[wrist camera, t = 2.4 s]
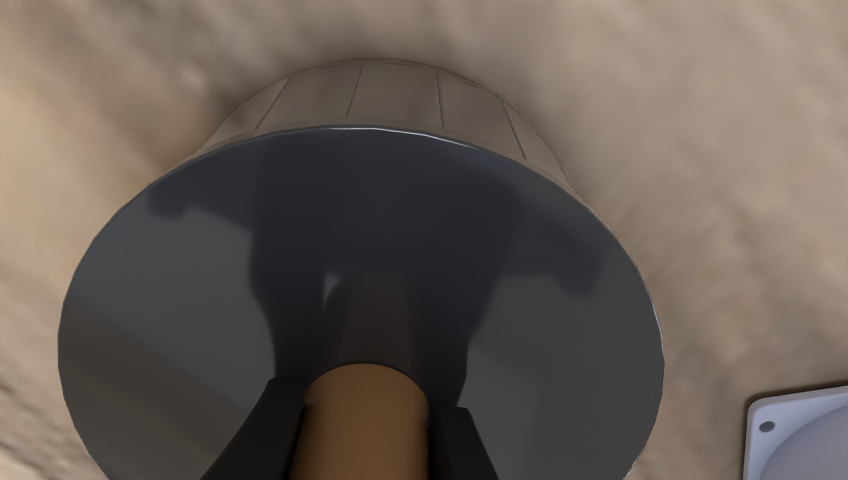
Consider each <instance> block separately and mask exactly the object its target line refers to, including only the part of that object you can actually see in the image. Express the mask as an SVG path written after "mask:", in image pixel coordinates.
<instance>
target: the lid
mask: <svg viewBox="0 0 848 480" xmlns="http://www.w3.org/2000/svg"><path fill="white" fill-rule="evenodd" d="M664 364H665V361H664V350H663V340H662V331H661V327H660V323H659V320H658V316H657V313H656V309H655V306H654V302H653V299H652V297H651V295H650V292H649V290H648V288H647V286H646V284H645V282H644V280H643V278H642V276H641V274H640V271H639V269H638V267H637V266H636V264H635V262H634V261H633V259H632V257H631V256H630V254H629V253H628V252H627V250H626V249H625V247H624V246H623V244H622V243H621V242H620V240H619V239H618V237H617V236H616V234H615V233H614V232H613V230H612V229H611V227H610V226H609V225H608V224H607V223H606V222H605V221H604V220H603V219H602V218H601V217H600V216H599V215H598V214H597V213H596V212H595V211H594V210H593V209H592V207H591V206H590V205H589V204H588V203H587V202H586V201H585V200H584V199H583V198H581V197H580V196H579V195H577V194H576V193H575V192H574V191H572V190H571V189H570V188H568V187H567V186H566V185H565V184H563V183H562V182H561V181H559V180H558V179H557V178H555V177H554V176H553V175H552V174H550V173H548V172H547V171H545V170H543V169H541V168H540V167H538V166H536V165H534V164H533V163H531V162H529V161H527V160H525V159H524V158H522V157H520V156H518V155H517V154H515V153H513V152H511V151H508V150H506V149H503V148H501V147H499V146H496V145H494V144H491V143H489V142H486V141H484V140H481V139H479V138H476V137H474V136H471V135H468V134H464V133H460V132H456V131H452V130H449V129H445V128H441V127H437V126H433V125H429V124H425V123H419V122H411V121H403V120H395V119H387V118H379V117H325V118H317V119H310V120H302V121H294V122H286V123H280V124H276V125H272V126H268V127H265V128H261V129H257V130H253V131H250V132H246V133H242V134H238V135H235V136H232V137H230V138H228V139H225V140H223V141H221V142H218V143H216V144H213V145H211V146H209V147H206V148H204V149H202V150H199V151H197V152H194V153H193V154H191V155H189V156H188V157H186V158H184V159H183V160H181V161H179V162H178V163H176V164H175V165H173V166H171V167H170V168H168V169H166V170H165V171H163V172H161V173H160V174H158V175H157V176H156V177H154V178H153V179H152V180H151V181H150V182H148V183H147V184H146V185H145V186H144V187H142V188H141V189H140V190H139V191H138V192H136V193H135V194H134V195H133V196H132V197H131V198H129V199H128V200H127V201H126V202H125V203H124V204H123V205H122V206H121V207H120V208H119V209H118V211H117V212H116V213H115V214H114V215H113V216H112V218H111V219H110V220H109V221H108V222H107V223H106V225H105V226H104V227H103V228H102V229H101V230H100V232H99V233H98V234H97V235H96V236H95V237H94V239H93V240H92V242H91V244H90V245H89V247H88V249H87V250H86V252H85V254H84V256H83V257H82V259H81V261H80V262H79V264H78V266H77V267H76V269H75V271H74V274H73V277H72V280H71V282H70V285H69V288H68V290H67V293H66V296H65V299H64V301H63V307H62V312H61V318H60V324H59V330H58V369H59V375H60V380H61V385H62V391H63V396H64V399H65V402H66V405H67V408H68V410H69V413H70V416H71V419H72V421H73V424H74V427H75V428H76V430H77V432H78V434H79V436H80V438H81V439H82V441H83V443H84V445H85V447H86V449H87V450H88V452H89V454H90V455H91V457H92V458H93V459H94V461H95V462H96V463H97V465H98V466H99V467H100V469H101V470H102V471H103V473H104V474H105V475H106V477H107V478H108V479H109V480H200V478H201V477H202V476H203V475H204V474H205V473H206V471H207V470H208V469H209V468H210V467H211V465H212V464H213V463H214V462H215V461H216V459H217V458H218V457H219V456H220V454H221V453H222V452H223V450H224V449H225V448H226V446H227V445H228V444H229V442H230V441H231V440H232V438H233V437H234V436H235V434H236V433H237V432H238V430H239V429H240V428H241V426H242V425H243V423H244V422H245V420H246V419H247V417H248V416H249V414H250V413H251V411H252V410H253V408H254V407H255V405H256V403H257V402H258V400H259V398H260V397H261V395H262V393H263V391H264V389H265V387H266V385H267V383H268V381H269V380H270V379H272V378H274V377H280V378H286V379H292V380H298V381H304V382H307V383H306V389H305V394H304V400H303V405H302V411H301V415H300V420H299V424H298V429H297V433H296V438H295V442H294V447H293V451H292V455H291V458H290V462H289V465H288V469H287V473H286V478H285V480H431V478H430V440H429V428H430V425H431V422H432V418H433V415H434V412H435V409H436V406H437V403H439V404H445V405H451V406H457V407H463V408H467V409H468V410H469V412H470V413H471V415H472V418H473V421H474V423H475V425H476V428H477V430H478V433H479V435H480V437H481V440H482V442H483V444H484V447H485V449H486V451H487V453H488V456H489V458H490V460H491V462H492V464H493V466H494V469H495V471H496V473H497V475H498V477H499V479H500V480H624V479H625V478H626V476H627V475H628V474H629V472H630V471H631V469H632V467H633V466H634V464H635V463H636V461H637V459H638V458H639V456H640V454H641V453H642V451H643V450H644V447H645V445H646V443H647V440H648V438H649V436H650V433H651V431H652V429H653V426H654V424H655V421H656V417H657V413H658V409H659V405H660V401H661V397H662V391H663V377H664Z"/></svg>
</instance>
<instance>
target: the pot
mask: <svg viewBox="0 0 848 480" xmlns="http://www.w3.org/2000/svg"><path fill="white" fill-rule="evenodd" d="M325 117H379V118H387V119H395V120H403V121H411V122H419V123H425V124H429V125H433V126H437V127H441V128H445V129H449V130H452V131H456V132H460V133H464V134H468V135H471V136H474V137H476V138H479V139H481V140H484V141H486V142H489V143H491V144H494V145H496V146H499V147H501V148H503V149H506V150H508V151H511V152H513V153H515V154H517V155H518V156H520V157H522V158H524V159H525V160H527V161H529V162H531V163H533V164H534V165H536V166H538V167H540V168H541V169H543V170H545V171H547V172H548V173H550V174H552V175H553V176H554V177H555V178H557V179H558V180H559V181H561V182H562V183H563V184H565V185H566V186H567V187H568V188H570V189H571V190H572V188H571V186H570V184H569V183H568V181H567V179H566V177H565V175H564V173H563V171H562V169H561V168H560V166H559V164H558V162H557V160H556V158H555V156H554V155H553V153H552V151H551V149H550V147H549V146H548V144H547V143H546V142H545V141H544V140H543V139H542V138H541V137H540V136H539V135H538V133H537V132H536V131H535V130H534V129H533V128H532V127H531V126H530V125H529V124H528V122H527V121H526V120H525V119H524V118H523V117H522V116H521V115H520V114H519V113H518V112H517V111H515V110H514V109H513V108H512V107H510V106H509V105H508V104H507V103H505V102H504V101H503V100H502V99H500V98H499V97H498V96H496V95H495V94H493V93H491V92H490V91H488V90H486V89H484V88H483V87H481V86H479V85H478V84H476V83H474V82H473V81H470V80H468V79H465V78H463V77H461V76H458V75H456V74H454V73H451V72H449V71H446V70H443V69H439V68H435V67H432V66H428V65H424V64H421V63H416V62H408V61H401V60H393V59H355V60H347V61H340V62H332V63H328V64H324V65H320V66H317V67H313V68H309V69H306V70H302V71H300V72H298V73H295V74H293V75H291V76H288V77H286V78H284V79H281V80H279V81H277V82H275V83H273V84H272V85H270V86H269V87H267V88H265V89H264V90H262V91H260V92H259V93H257V94H255V95H254V96H252V97H251V98H250V99H249V100H248V101H246V102H245V103H244V104H242V105H241V106H239V107H237V108H236V109H235V110H234V111H232V112H231V113H230V114H229V116H228V117H227V118H226V119H225V120H224V121H223V123H222V124H221V125H220V126H219V127H218V128H217V130H216V131H215V132H214V133H213V134H212V136H211V137H210V138H209V139H208V140H207V141H206V143H205V144H204V145H203V146H202V147H201V148H200V150H202V149H204V148H206V147H209V146H211V145H213V144H216V143H218V142H221V141H223V140H225V139H228V138H230V137H232V136H235V135H238V134H242V133H246V132H250V131H253V130H257V129H261V128H265V127H268V126H272V125H276V124H280V123H286V122H294V121H302V120H310V119H317V118H325ZM572 191H573V190H572Z"/></svg>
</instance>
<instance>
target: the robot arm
mask: <svg viewBox="0 0 848 480" xmlns="http://www.w3.org/2000/svg"><path fill="white" fill-rule="evenodd" d="M306 383H307V382H304V381H298V380H292V379H286V378H280V377H274V378H272V379H270V380H269V381H268V383H267V385H266V387H265V389H264V391H263V393H262V395H261V397H260V398H259V400H258V402H257V403H256V405H255V407H254V408H253V410H252V411H251V413H250V414H249V416H248V417H247V419H246V420H245V422H244V423H243V425H242V426H241V428H240V429H239V430H238V432H237V433H236V434H235V436H234V437H233V438H232V440H231V441H230V442H229V444H228V445H227V446H226V448H225V449H224V450H223V452H222V453H221V454H220V456H219V457H218V458H217V459H216V461H215V462H214V463H213V464H212V465H211V467H210V468H209V469H208V470H207V471H206V473H205V474H204V475H203V476H202V477H201V478H200V480H285V478H286V473H287V469H288V465H289V462H290V458H291V455H292V451H293V447H294V442H295V438H296V433H297V429H298V424H299V420H300V415H301V411H302V405H303V400H304V394H305V389H306ZM764 422H765V423H764ZM429 440H430V478H431V480H500V479H499V477H498V475H497V473H496V471H495V469H494V466H493V464H492V462H491V460H490V458H489V456H488V453H487V451H486V449H485V447H484V444H483V442H482V440H481V437H480V435H479V433H478V430H477V428H476V425H475V423H474V421H473V418H472V415H471V413H470V412H469V410H468V409H467V408H463V407H457V406H451V405H445V404H439V403H437V406H436V409H435V412H434V415H433V418H432V422H431V425H430V428H429ZM743 480H848V386H841V387H835V388H828V389H821V390H815V391H808V392H801V393H795V394H788V395H781V396H775V397H768V398H762V399H759V400H757V401H755V402H753V403H752V405H751V406H750V407H749V410H748V419H747V432H746V445H745V459H744V472H743Z"/></svg>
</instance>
